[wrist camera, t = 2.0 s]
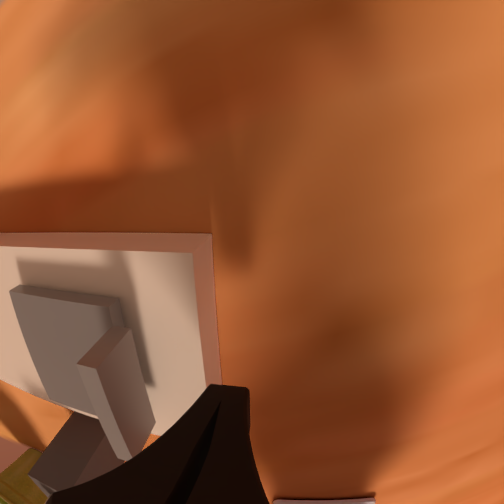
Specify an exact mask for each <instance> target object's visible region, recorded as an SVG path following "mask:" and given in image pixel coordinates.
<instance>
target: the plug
mask: <svg viewBox="0 0 504 504" xmlns="http://www.w3.org/2000/svg"><path fill="white" fill-rule="evenodd" d="M124 461H125V460H122V459H118V458H117V456H116V454H115V452H114V450H113V448H112V446H111V444H110V442H109V440H108V438H107V436H106V434H105V432H104V430H103V428H102V426H101V424H100V421H99V419H96V418H93V417H90V416H87V415H84V414H81V413H78V412H76V411H74V413H73V414H72V415H71V416H70V418H69V419H68V420H67V422H66V423H65V424H64V426H63V427H62V428H61V430H60V431H59V432H58V433H57V435H56V436H55V437H54V439H53V440H52V441H51V443H50V444H49V445H48V447H47V448H46V449H45V451H44V452H43V454H42V455H41V456H40V458H39V459H38V460H37V462H36V463H35V464H34V466H33V467H32V468H31V470H30V471H29V473H28V476H29V477H30V478H31V479H32V480H33V482H34V483H35V484H36V485H37V486H38V487H39V488H40V490H41V491H42V492H43V493H44V494H45V495H46V496H47V497H48V499H49V498H50V496H51V495H52V494H53V493H54V492H57V491H61V490H64V489H67V488H70V487H73V486H76V485H79V484H82V483H85V482H87V481H90V480H92V479H94V478H96V477H98V476H100V475H103V474H105V473H107V472H109V471H111V470H113V469H115V468H116V467H118V466H120V465H122V464H123V463H124ZM48 499H47V500H48ZM47 500H46V502H47ZM46 502H45V504H46Z"/></svg>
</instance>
